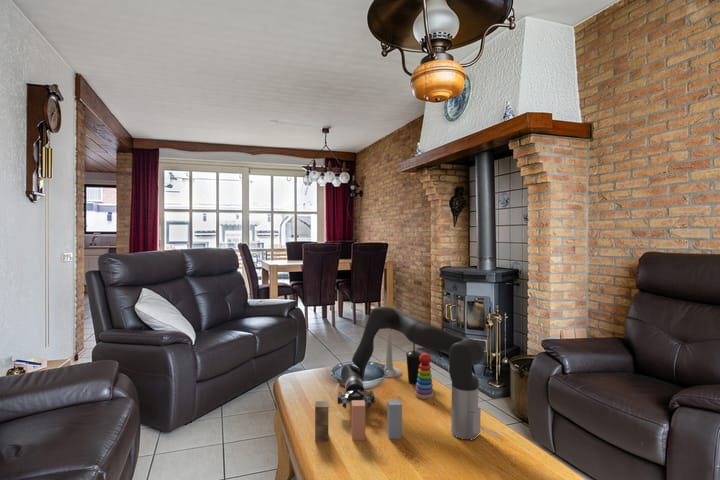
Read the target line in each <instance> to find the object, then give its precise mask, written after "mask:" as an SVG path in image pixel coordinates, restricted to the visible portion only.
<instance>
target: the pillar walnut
mask: <svg viewBox="0 0 720 480" xmlns="http://www.w3.org/2000/svg"><path fill="white" fill-rule="evenodd" d="M314 403H315V405H314V411H315V412H314V431H315V432H314V442H315V443H317V442H319V443H320V442H329V401H328V400H320V401H318V400H317V401H315V402H314Z"/></svg>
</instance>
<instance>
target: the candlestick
mask: <svg viewBox="0 0 720 480" xmlns="http://www.w3.org/2000/svg"><path fill="white" fill-rule="evenodd" d="M386 332H387V335H386V351H385V352H386V353H385V354H386V355H385V366H384V367H385V368H387V369H389V370H390V374H389V375H388V376H387V377H386V378H385V379H395V378H399V377H402V375H403V372H402V370H401V369H400V368H398V367H395V366H394V365H393V363H394V362H393V346H392V345H393V344H392V333H393V329H386Z"/></svg>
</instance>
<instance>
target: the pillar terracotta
mask: <svg viewBox="0 0 720 480" xmlns="http://www.w3.org/2000/svg"><path fill="white" fill-rule="evenodd" d="M351 440H352V441H366V403H365V401H364V400H352V402H351Z"/></svg>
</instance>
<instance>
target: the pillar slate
mask: <svg viewBox="0 0 720 480" xmlns="http://www.w3.org/2000/svg"><path fill="white" fill-rule="evenodd" d="M386 402H387V403H386V404H387V405H386V406H387V407H386V409H387V411H386V416H387V417H386V418H387V419H386V428H387V429H386V433H387V437H388V440H402V437H403V403H402V401H401V399H399V398H396V399H395V398H393V399H391V398H390V399H389V398H388V399H387V401H386Z"/></svg>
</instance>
